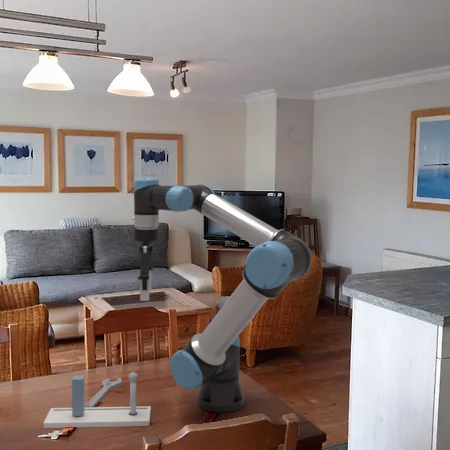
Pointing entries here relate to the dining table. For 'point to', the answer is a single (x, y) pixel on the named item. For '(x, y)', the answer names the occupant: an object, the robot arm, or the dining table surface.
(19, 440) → the dining table surface
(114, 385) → the adjustable wrench
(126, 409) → the plate
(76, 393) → the post
